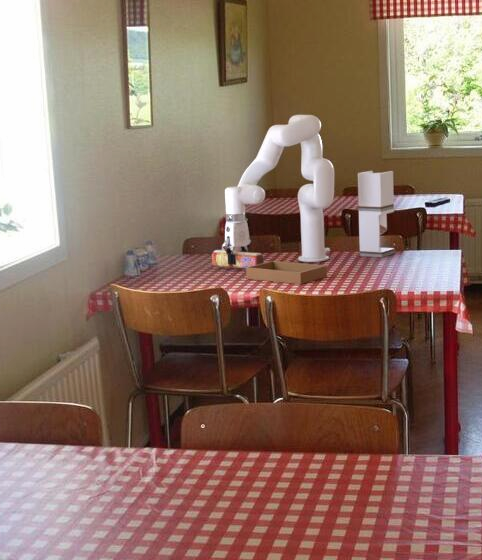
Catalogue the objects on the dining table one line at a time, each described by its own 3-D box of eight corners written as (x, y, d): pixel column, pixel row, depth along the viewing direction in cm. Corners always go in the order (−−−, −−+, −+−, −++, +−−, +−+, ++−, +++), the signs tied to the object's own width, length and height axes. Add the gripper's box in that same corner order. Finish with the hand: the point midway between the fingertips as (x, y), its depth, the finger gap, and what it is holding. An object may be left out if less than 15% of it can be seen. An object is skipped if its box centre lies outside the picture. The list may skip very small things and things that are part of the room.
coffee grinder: (381, 257, 416) (380, 173, 409) (359, 255, 421) (357, 173, 414) (394, 253, 425) (393, 171, 419) (372, 251, 431) (371, 170, 424)
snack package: (265, 267, 393) (264, 251, 392) (256, 270, 388) (255, 253, 386) (220, 264, 403) (219, 248, 402) (210, 267, 397) (210, 250, 396)
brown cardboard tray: (273, 271, 390) (272, 260, 389) (326, 276, 376) (326, 265, 375) (246, 278, 376) (245, 267, 375) (300, 284, 362) (300, 272, 361)
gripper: (228, 221, 382) (230, 266, 386) (257, 216, 396) (258, 260, 400) (213, 220, 386) (216, 265, 390) (242, 215, 401) (244, 258, 404)
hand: (237, 262), depth 395 cm, fingers closed on snack package, 7 cm apart
